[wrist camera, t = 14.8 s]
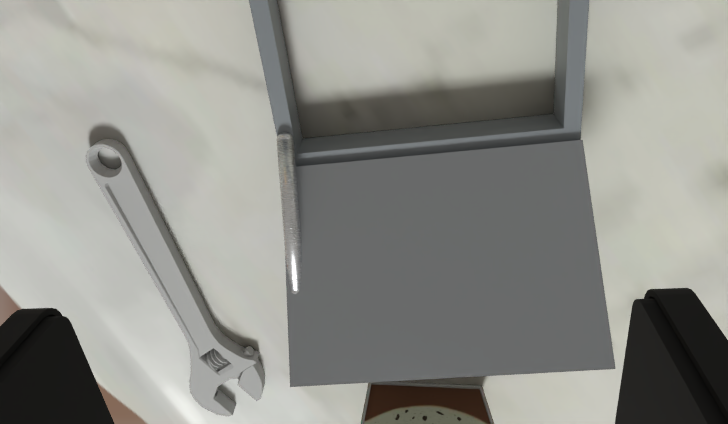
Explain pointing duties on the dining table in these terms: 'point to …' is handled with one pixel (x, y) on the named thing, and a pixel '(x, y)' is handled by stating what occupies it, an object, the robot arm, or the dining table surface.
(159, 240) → the adjustable wrench
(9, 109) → the dining table surface
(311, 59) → the dining table surface
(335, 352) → the equipment case
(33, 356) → the robot arm
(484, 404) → the food container
